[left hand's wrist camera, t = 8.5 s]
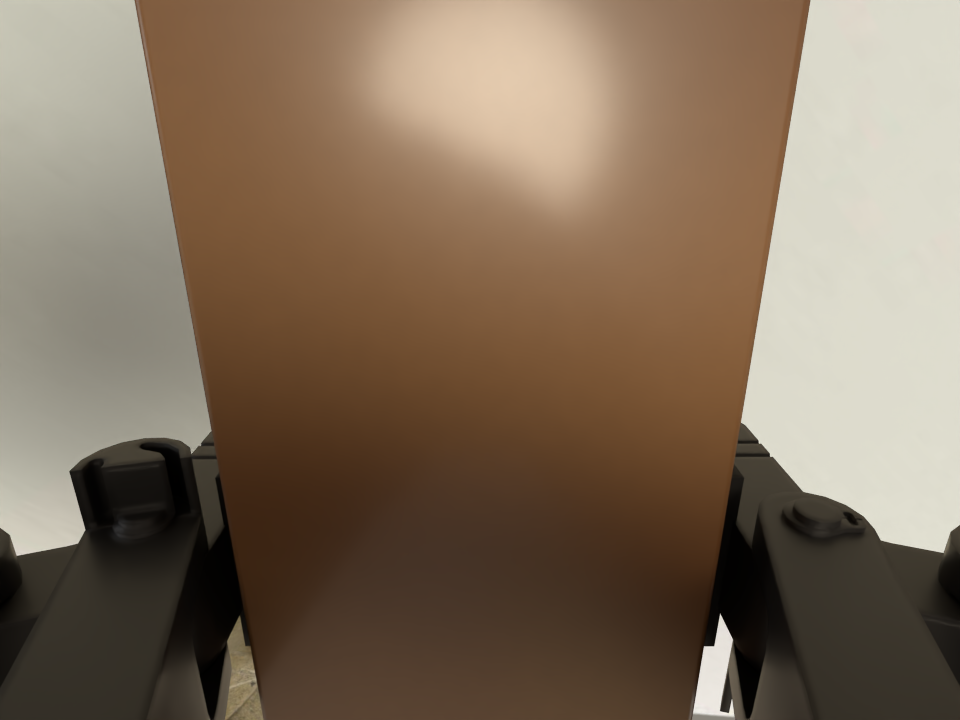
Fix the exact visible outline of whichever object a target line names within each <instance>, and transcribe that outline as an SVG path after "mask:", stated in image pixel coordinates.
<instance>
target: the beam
mask: <svg viewBox="0 0 960 720" xmlns="http://www.w3.org/2000/svg"><path fill="white" fill-rule="evenodd" d="M135 5H136V10H137V16H138V22H139V27H140V33H141V38H142V44H143V49H144V55H145V61H146V66H147V72H148V77H149V83H150V89H151V94H152V100H153V105H154V111H155V116H156V122H157V128H158V133H159V139H160V144H161V150H162V156H163V161H164V167H165V172H166V178H167V183H168V189H169V195H170V200H171V206H172V211H173V217H174V223H175V228H176V234H177V239H178V245H179V251H180V256H181V262H182V267H183V273H184V278H185V284H186V290H187V295H188V301H189V306H190V312H191V318H192V323H193V329H194V334H195V340H196V345H197V351H198V357H199V362H200V368H201V373H202V379H203V385H204V390H205V396H206V401H207V407H208V412H209V418H210V424H211V429H212V435H213V440H214V446H215V452H216V457H217V463H218V468H219V474H220V480H221V485H222V491H223V496H224V502H225V507H226V513H227V519H228V524H229V530H230V535H231V541H232V547H233V552H234V558H235V563H236V569H237V574H238V580H239V586H240V591H241V597H242V602H243V608H244V614H245V619H246V625H247V630H248V636H249V641H250V647H251V653H252V658H253V664H254V669H255V675H256V681H257V686H258V692H259V697H260V703H261V709H262V714H263V720H692V715H693V709H694V703H695V697H696V691H697V685H698V679H699V673H700V666H701V660H702V654H703V648H704V642H705V636H706V630H707V624H708V618H709V612H710V606H711V600H712V594H713V588H714V582H715V576H716V569H717V563H718V557H719V551H720V545H721V539H722V533H723V527H724V521H725V515H726V509H727V503H728V497H729V491H730V485H731V479H732V472H733V466H734V460H735V454H736V448H737V442H738V436H739V430H740V424H741V418H742V412H743V406H744V400H745V394H746V388H747V382H748V375H749V369H750V363H751V357H752V351H753V345H754V339H755V333H756V327H757V321H758V315H759V309H760V303H761V297H762V291H763V285H764V278H765V272H766V266H767V260H768V254H769V248H770V242H771V236H772V230H773V224H774V218H775V212H776V206H777V200H778V194H779V188H780V181H781V175H782V169H783V163H784V157H785V151H786V145H787V139H788V133H789V127H790V121H791V115H792V109H793V103H794V97H795V91H796V84H797V78H798V72H799V66H800V60H801V54H802V48H803V42H804V36H805V30H806V24H807V18H808V12H809V6H810V0H135Z"/></svg>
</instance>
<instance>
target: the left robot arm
mask: <svg viewBox="0 0 960 720" xmlns="http://www.w3.org/2000/svg"><path fill="white" fill-rule="evenodd" d="M69 472H70V475H71V479H72V482H73V486H74V490H75V493H76V497H77V500H78V504H79V508H80V511H81V515H82V519H83V522H84V526H85V529H86V530H85V532H84V534H83V536H82V538H81V540H80V541H79V543H78V544H75V545H71V546H67V547H61V548H56V549H51V550H46V551H41V552H35V553H30V554H25V555H20V556H16V553H15V550H14V547H13V544H12V541H11V538H10V535H9V534H8V533H6V532H5V531H4V530H2V529H1V528H0V720H225V716H226V709H227V702H228V694H229V687H230V680H231V673H232V667H231V659H230V653H229V648H228V643H227V641H228V639H229V636H230V634H231V632H232V630H233V628H234V626H235V624H236V622H237V620H238V618H239V616H240V619H241V625H242V630H243V636H244V641H245V646H250V641H249V636H248V630H247V625H246V619H245V614H244V608H243V602H242V597H241V591H240V586H239V580H238V574H237V569H236V563H235V558H234V552H233V547H232V541H231V535H230V530H229V524H228V519H227V513H226V507H225V502H224V496H223V491H222V485H221V480H220V474H219V468H218V463H217V457H216V452H215V446H214V440H213V435H212V431H211V432H210V434H209V435H208V436H207V437H206V438H205V439H204V440H203V442H202V443H201V446H198V447H197V449H196V450H195V451H194V452H193V453H192V454H191V451H190V447H188V446H187V445H186V444H184V443H183V442H181V441H178V440H173V439H168V438H144V439H139V440H133V441H128V442H123V443H119V444H116V445H113V446H111V447H108V448H105V449H102V450H99V451H97V452H95V453H94V454H92V455H90V456H88V457H86V458H84V459H83V460H81V461H80V462H79V463H78V464H77V465H76V466H75V467H74V468H72V469H71V470H70V471H69ZM720 614H721V616H722V618H723V620H724V622H725V624H726V626H727V628H728V630H729V632H730V634H731V636H732V638H733V643H732V648H731V653H730V658H729V664H728V669H727V674H726V679H725V684H724V689H723V695H722V701H721V708H720V711H722V712H727V713H729V709H730V705H731V700H733V708H734V715H735V720H960V525H959V526H958V527H957V528H955V529H954V530H953V531H951V533H950V536H949V539H948V542H947V545H946V548H945V551H944V553H940V552H935V551H929V550H924V549H919V548H914V547H908V546H903V545H898V544H893V543H888V542H884V541H881V540H880V538H879V536H878V535H877V533H876V531H875V529H874V528H873V527H872V526H871V525H870V523H869V522H868V521H867V520H866V519H865V518H864V517H863V516H862V515H860V514H859V513H857V512H856V511H854V510H853V509H851V508H849V507H848V506H846V505H844V504H842V503H839V502H837V501H834V500H832V499H829V498H827V497H823V496H819V495H814V494H810V493H805V492H803V491H802V490H801V489H800V488H799V487H798V485H797V484H796V483H795V482H794V481H793V480H792V479H791V477H790V476H789V475H788V474H787V473H786V472H785V471H784V469H783V468H782V467H781V466H780V465H779V464H778V463H777V461H776V460H775V459H774V458H773V457H770V453H769V452H768V451H767V450H766V449H765V448H764V446H763V445H762V444H759V443H758V440H757V438H756V437H755V436H754V435H753V434H752V433H751V431H750V430H749V429H748V428H747V427H746V426H745V425H744V424H742V423H741V424H740V430H739V436H738V442H737V448H736V454H735V460H734V466H733V472H732V479H731V485H730V491H729V497H728V503H727V509H726V515H725V521H724V527H723V533H722V539H721V545H720V551H719V557H718V563H717V569H716V576H715V582H714V588H713V594H712V600H711V606H710V612H709V618H708V624H707V630H706V636H705V642H704V646H714V644H715V639H716V633H717V627H718V622H719V616H720Z"/></svg>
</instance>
